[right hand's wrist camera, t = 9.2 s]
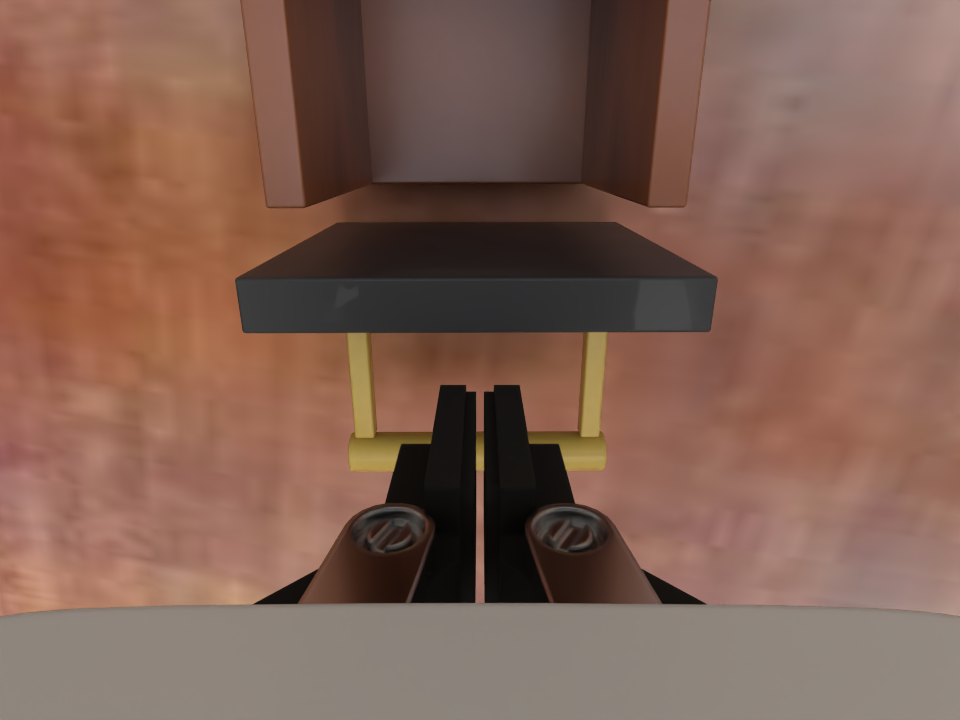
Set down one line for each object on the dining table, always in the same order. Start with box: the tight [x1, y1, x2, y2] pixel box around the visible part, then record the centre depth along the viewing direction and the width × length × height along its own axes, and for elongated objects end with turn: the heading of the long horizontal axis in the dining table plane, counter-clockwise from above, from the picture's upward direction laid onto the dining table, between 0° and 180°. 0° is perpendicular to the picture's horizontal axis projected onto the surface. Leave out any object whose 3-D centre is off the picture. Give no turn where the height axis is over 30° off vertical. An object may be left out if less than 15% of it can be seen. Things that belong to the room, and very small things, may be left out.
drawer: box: [235, 0, 718, 471], centre depth 15 cm, size 22×10×9 cm, turn 0°
